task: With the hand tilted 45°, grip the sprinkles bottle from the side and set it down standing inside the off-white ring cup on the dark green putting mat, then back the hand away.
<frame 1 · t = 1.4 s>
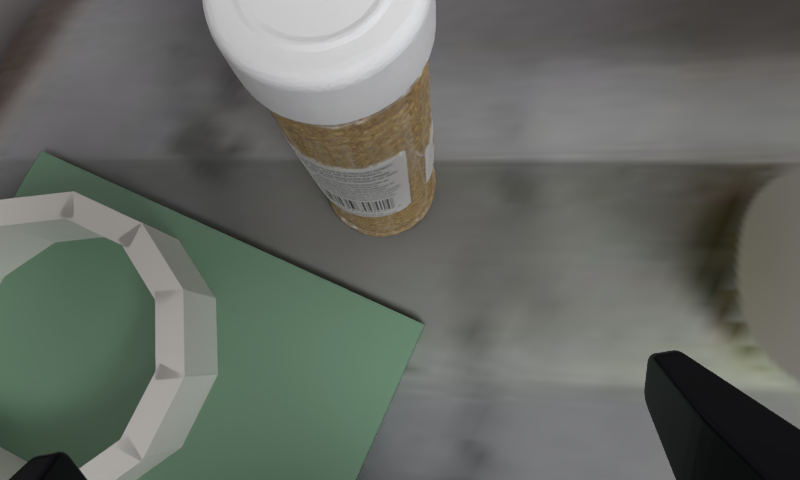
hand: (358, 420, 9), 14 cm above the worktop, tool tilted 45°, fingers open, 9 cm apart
practice green: (88, 350, 23), on the worktop
sprinkles bottle: (381, 187, 24), on the worktop
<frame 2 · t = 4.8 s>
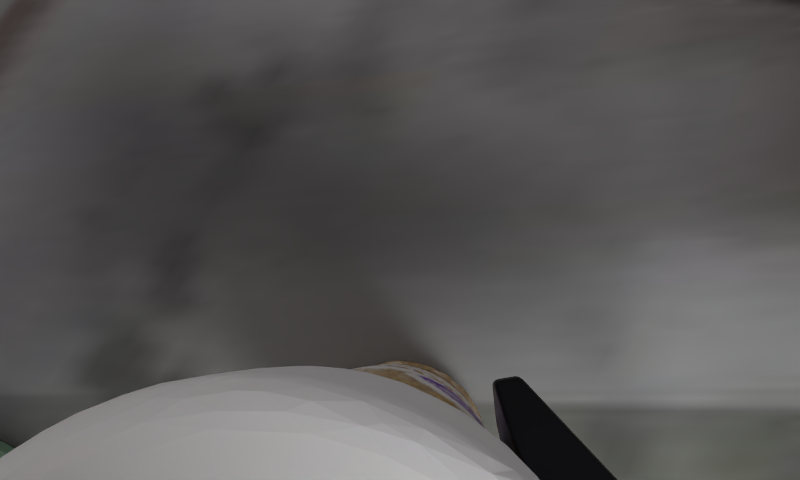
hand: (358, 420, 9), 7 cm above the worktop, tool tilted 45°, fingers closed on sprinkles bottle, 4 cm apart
sprinkles bottle: (400, 444, 16), on the worktop, touching gripper
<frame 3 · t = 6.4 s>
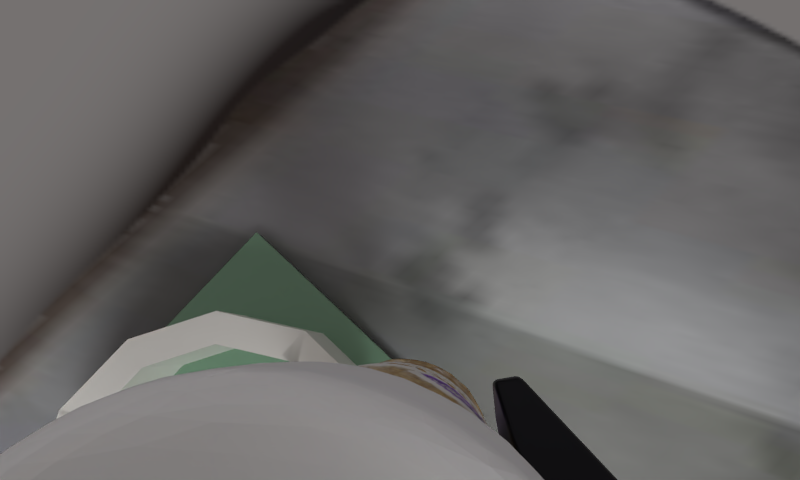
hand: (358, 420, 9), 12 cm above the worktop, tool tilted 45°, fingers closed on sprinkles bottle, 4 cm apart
practice green: (249, 476, 20), on the worktop
sprinkles bottle: (402, 441, 16), point 5 cm above the worktop, touching gripper
when the fingers open (8 cm above the worktop, at t = 8.1 s): sprinkles bottle stays where it is, resting on practice green.
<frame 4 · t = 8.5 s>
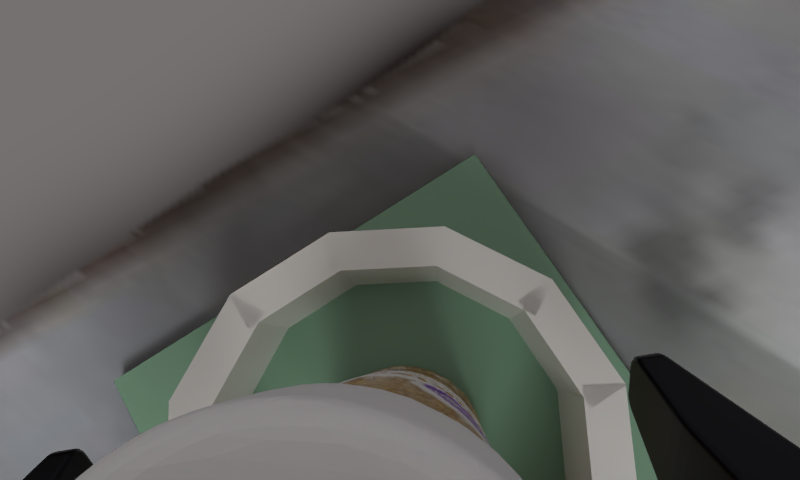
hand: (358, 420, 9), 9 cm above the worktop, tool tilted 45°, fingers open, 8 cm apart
practice green: (403, 436, 17), on the worktop
sprinkles bottle: (403, 444, 17), resting on practice green
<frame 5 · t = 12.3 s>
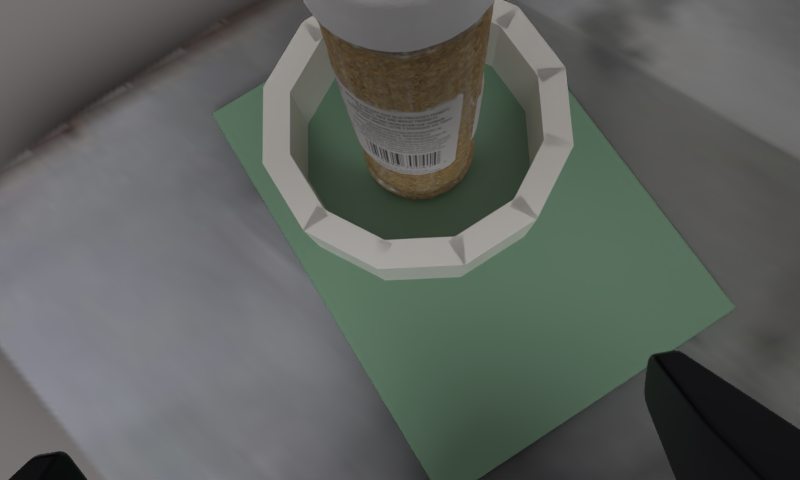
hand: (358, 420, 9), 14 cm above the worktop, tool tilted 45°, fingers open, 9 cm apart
practice green: (417, 149, 24), on the worktop
sprinkles bottle: (417, 151, 24), resting on practice green
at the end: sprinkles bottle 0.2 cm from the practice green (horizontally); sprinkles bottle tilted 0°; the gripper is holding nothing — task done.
